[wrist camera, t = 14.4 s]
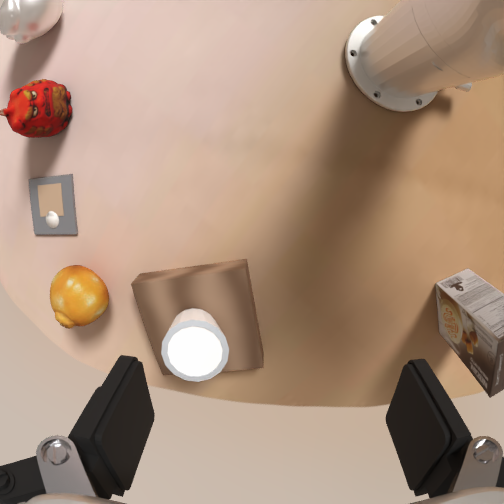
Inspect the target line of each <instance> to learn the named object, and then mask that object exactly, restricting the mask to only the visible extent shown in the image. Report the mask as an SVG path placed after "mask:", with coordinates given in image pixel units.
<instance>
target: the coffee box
mask: <svg viewBox="0 0 504 504" xmlns="http://www.w3.org/2000/svg"><path fill="white" fill-rule="evenodd" d="M435 287H436V298H437V309H438V322H439V333H440V335H441V336H442V337H443V338H444V339H445V340H446V342H447V343H448V344H449V345H450V347H451V348H452V349H453V350H454V352H455V353H456V354H457V355H458V356H459V358H460V359H461V360H462V362H463V363H464V364H465V365H466V367H467V368H468V369H469V370H470V372H471V373H472V374H473V376H474V377H475V378H476V380H477V381H478V382H479V384H480V385H481V386H482V387H483V389H484V390H485V391H486V393H487V394H488V396H489V397H492V396H494V395H495V394H497V393H498V392H500V391H502V390H503V389H504V294H503V293H502V292H500V291H499V290H498V289H496V288H495V287H494V286H492V285H491V284H489V283H488V282H487V281H485V280H484V279H482V278H481V277H480V276H478V275H477V274H475V273H474V272H473V271H471V270H470V269H465V270H463V271H461V272H459V273H457V274H455V275H452V276H450V277H448V278H446V279H444V280H442V281H439V282H437V283H436V284H435Z"/></svg>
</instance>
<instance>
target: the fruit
mask: <svg viewBox="0 0 504 504" xmlns="http://www.w3.org/2000/svg"><path fill="white" fill-rule="evenodd" d="M50 301H51V306H52V309H53V311H54V312H55V318H56V320H57V321H58V322H60V325H62V326H64V327H65V328H68V329H70V328H72V327H73V326H85V325H87V324H90V323H91V322H93V321H95V320H96V319H98V318H99V317H100V316H101V315H102V314H103V313H104V311H105V310H106V308H107V306H108V302H109V295H108V290H107V287H106V285H105V283H104V282H103V280H102V279H101V278H100V277H99V276H98V275H97V274H95V273H94V272H93V271H92V270H90V269H88V268H86V267H83V266H80V265H73V266H68V267H66V268H64V269H62V270H61V271H59V272H58V273H57V275H56V276H55V277H54V279H53V281H52V283H51V288H50Z"/></svg>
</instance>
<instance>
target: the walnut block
mask: <svg viewBox="0 0 504 504" xmlns="http://www.w3.org/2000/svg"><path fill="white" fill-rule="evenodd" d="M131 285H132V289H133V292H134V295H135V298H136V301H137V305H138V308H139V311H140V314H141V317H142V320H143V323H144V325H145V328H146V331H147V334H148V337H149V340H150V342H151V345H152V348H153V351H154V353H155V356H156V359H157V361H158V364H159V366H160V369H161V371H162V374H163V375H173V373H172V372H171V371H170V370H169V369H168V368H167V366H166V365H165V363H164V360H163V357H162V354H161V351H162V341H163V339H164V337H165V336H166V334H167V332H168V330H169V328H170V327H171V325H172V323H173V321H174V319H175V318H176V316H177V315H178V314H180V313H181V312H182V311H184V310H188V309H192V308H195V309H202V310H204V311H206V312H207V313H209V314H210V315H211V316H212V317H213V318H214V320H215V321H216V323H217V324H218V326H219V328H220V329H221V331H222V332H223V334H224V336H225V337H226V340H227V344H228V347H229V354H228V361H227V363H226V364H225V366H224V368H223V369H222V371H221V372H225V371H237V370H248V369H258V368H263V348H262V343H261V337H260V331H259V326H258V320H257V315H256V309H255V303H254V298H253V292H252V287H251V281H250V275H249V270H248V264H247V259H243V260H236V261H229V262H221V263H214V264H207V265H200V266H193V267H185V268H178V269H171V270H164V271H156V272H149V273H142V274H140V275H139V276H138V277H137V278H136V279H135V280H134V281H133V282H132V283H131Z"/></svg>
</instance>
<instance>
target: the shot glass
mask: <svg viewBox="0 0 504 504" xmlns="http://www.w3.org/2000/svg"><path fill="white" fill-rule="evenodd" d="M161 354H162V357H163V360H164V363H165V365H166V366H167V368H168V369H169V370H170V371H171V372H172V373H173V374H174V375H176V376H178V377H180V378H182V379H184V380H187V381H196V382H199V381H203V380H207V379H211V378H212V377H214V376H215V375H217V374H218V373H220V372H221V371H222V369H223V368H224V366H225V364H226V363H227V361H228V354H229V347H228V344H227V340H226V337H225V336H224V334H223V332H222V331H221V329H220V328H219V326H218V324H217V323H216V321H215V320H214V318H213V317H212V316H211V315H210V314H209V313H207V312H206V311H204V310H202V309H195V308H192V309H188V310H184V311H182V312H181V313H180V314H178V315H177V316H176V318H175V319H174V321H173V323H172V325H171V327H170V328H169V330H168V332H167V334H166V336H165V337H164V339H163V341H162V351H161Z"/></svg>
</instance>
